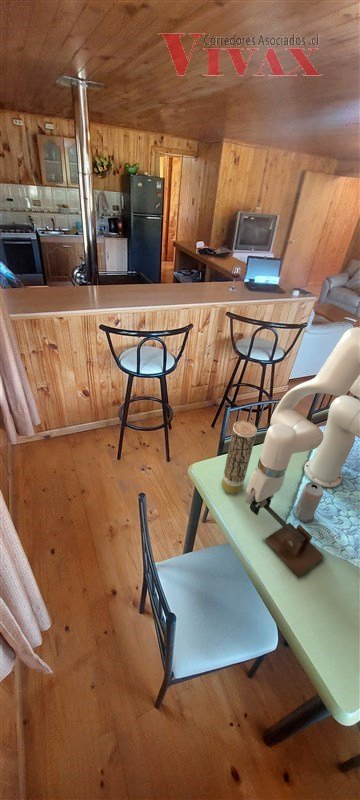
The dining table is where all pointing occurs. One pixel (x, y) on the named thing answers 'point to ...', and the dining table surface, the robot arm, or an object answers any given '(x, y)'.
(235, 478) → the wooden log
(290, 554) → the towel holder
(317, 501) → the energy drink
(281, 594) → the dining table surface
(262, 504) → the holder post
